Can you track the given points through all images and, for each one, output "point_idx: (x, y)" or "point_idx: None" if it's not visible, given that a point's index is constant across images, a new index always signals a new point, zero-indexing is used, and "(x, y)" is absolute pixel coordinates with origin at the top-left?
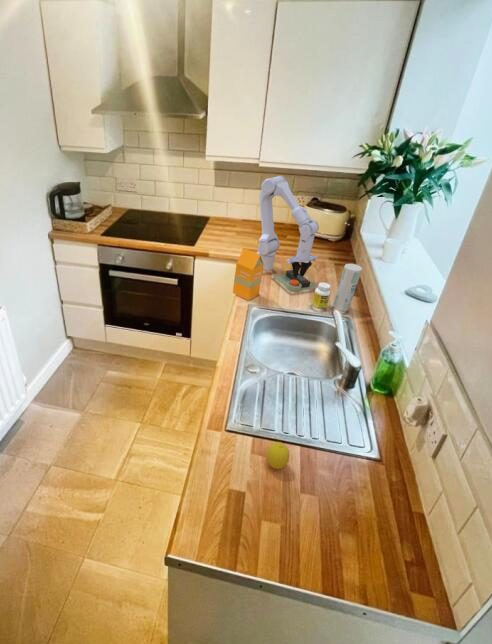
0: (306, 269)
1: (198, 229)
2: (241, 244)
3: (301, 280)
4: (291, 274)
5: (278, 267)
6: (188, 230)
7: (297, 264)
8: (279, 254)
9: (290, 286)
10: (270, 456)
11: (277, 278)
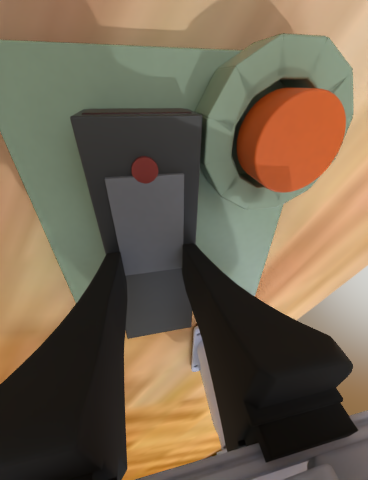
0: (84, 316)
1: None
2: (186, 429)
3: (176, 177)
4: None
5: (151, 357)
6: None
7: (305, 392)
8: None
9: (352, 97)
10: None
11: (254, 272)
